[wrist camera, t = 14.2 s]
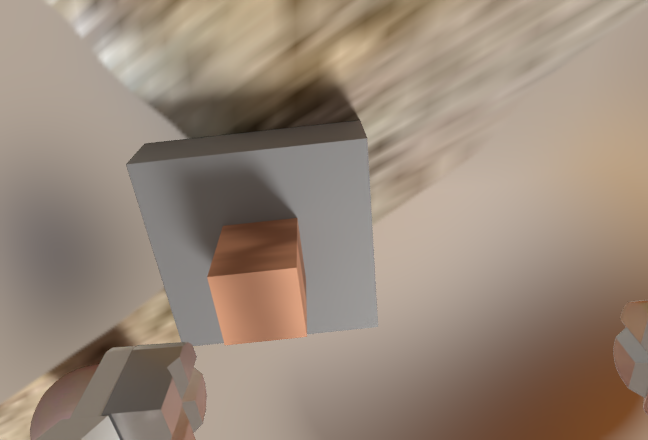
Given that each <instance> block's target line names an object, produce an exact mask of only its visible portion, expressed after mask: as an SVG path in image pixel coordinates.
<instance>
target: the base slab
mask: <svg viewBox="0 0 648 440" xmlns="http://www.w3.org/2000/svg"><path fill="white" fill-rule="evenodd" d="M126 166H127V169H128V172H129V176H130V179H131V182H132V185H133V188H134V192H135V195H136V198H137V201H138V204H139V208H140V211H141V214H142V217H143V220H144V224H145V227H146V230H147V233H148V236H149V239H150V243H151V246H152V249H153V252H154V255H155V259H156V262H157V265H158V268H159V271H160V274H161V278H162V281H163V284H164V287H165V291H166V294H167V297H168V300H169V303H170V307H171V310H172V313H173V316H174V319H175V323H176V326H177V329H178V332H179V335H180V339H181V342H189V343H191V344H192V345H193V346H200V345H210V344H219V343H224V340H223V337H222V333H221V329H220V325H219V321H218V317H217V313H216V310H215V306H214V302H213V298H212V294H211V290H210V286H209V282H208V279H207V276H208V273H209V270H210V266H211V263H212V260H213V256H214V253H215V250H216V247H217V243H218V240H219V237H220V234H221V230H222V227H223V226H226V225H236V224H245V223H254V222H263V221H273V220H282V219H291V218H297V219H298V226H299V233H300V240H301V247H302V254H303V261H304V268H305V275H306V305H307V334H314V333H323V332H332V331H342V330H351V329H361V328H371V327H378V319H377V318H378V317H377V299H376V282H375V265H374V249H373V232H372V231H373V230H372V213H371V196H370V179H369V161H368V144H367V137H366V134H365V132H364V129H363V126H362V124H361V121H360V120H357V121H348V122H339V123H330V124H320V125H311V126H302V127H293V128H284V129H275V130H265V131H256V132H247V133H238V134H229V135H219V136H210V137H201V138H192V139H183V140H174V141H164V142H156V143H147V144H144V145H143V146H142V147H141V149H140V150H139V151H138V152H137V153H136V154H135V155H134V156H133V157H132V159H130V161H129V162H128V163H127V164H126Z"/></svg>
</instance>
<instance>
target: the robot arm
mask: <svg viewBox="0 0 648 440" xmlns="http://www.w3.org/2000/svg"><path fill="white" fill-rule="evenodd" d="M620 319H621V321H622V322H623V323H624V325H625V326H626V328H625V329H624V330H623V331H622V332H621V333H620V334H619V335H618V336H617V337H616V338H615V343H614V349H613V353H614V360H615V366H616V368H617V370H618V373H619V375H620V377H621V378H622V380H623V381H624V383H625V384H626V386H627V387H628V388H629V389H630V390H632V391H634V392H636V393H637V394H639V395H641V396H642V397H644V406H643V409H644V411H645V412H646V414H647V415H648V300H644V301H634V302H628V303H627V304H626V306H625V307H624V308H623V311H622V315H621V318H620ZM196 357H197V356H196V353H195V351H194V348H193V345H192V344H191V343H189V342H180V343H165V344H150V345H138V346H128V347H112V348H111V349H110V350H108V351H107V352H106V353H105V354H104V356H103V358H102V360H101V362H100V364H99V366H98V367H97V369H96V371H95V373H94V375H93V377H92V378H91V380H90V382H89V384H88V386H87V388H86V389H85V391H84V393H83V395H82V397H81V399H80V400H79V402H78V404H77V406H76V408H75V410H74V411H73V413H72V415H71V417H70V419H61V420H60V421H59V422H57V423H56V424H55V425H54V426H52V427H51V428H50V429H49V430H47V431H46V432H45V433H43V434H42V435H41V436H40V437H38V438H37V439H36V440H196V439H195V436H194V432H195V431H196V430H197V429H198V428H199V427H200V426H201V425H202V424H203V421H204V416H205V412H206V399H207V393H206V386H205V381H204V378H203V374H202V373H201V372H199V371H198V370H197V369H195V368H194V365H195V361H196Z"/></svg>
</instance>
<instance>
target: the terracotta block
mask: <svg viewBox="0 0 648 440" xmlns="http://www.w3.org/2000/svg"><path fill="white" fill-rule="evenodd" d="M207 279H208V282H209V286H210V290H211V294H212V298H213V302H214V306H215V310H216V313H217V317H218V321H219V325H220V329H221V333H222V337H223V340H224V344H225V345H232V344H242V343H252V342H261V341H271V340H280V339H289V338H299V337H307V305H306V275H305V268H304V261H303V254H302V247H301V240H300V233H299V226H298V219H297V218H291V219H282V220H273V221H263V222H254V223H245V224H236V225H226V226H223V227H222V230H221V234H220V237H219V240H218V243H217V247H216V250H215V253H214V256H213V260H212V263H211V266H210V270H209V273H208V276H207Z"/></svg>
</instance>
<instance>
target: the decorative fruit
mask: <svg viewBox="0 0 648 440" xmlns="http://www.w3.org/2000/svg"><path fill="white" fill-rule="evenodd" d="M98 366H99V364H98V365H91V366H86V367H82V368H79V369H76V370H74V371H72V372H70V373H68V374H66V375H65V376H63V377H62V378H60V379H59V380H58V381H56V382H55V383H54V384H53V385H52V386H51V387H50V388H49V389H48V390H47V391H46V392H45V394H44V395H43V396H42V398H41V400H40V401H39V403H38V405H37V407H36V410H35V412H34V414H33V418H32V421H31V427H30V437H31V440H36V439H37V438H38V437H40V436H41V435H42V434H43V433H45V432H46V431H47V430H49V429H50V428H51V427H52V426H54V425H55V424H56V423H57V422H59V421H60V420H61V419H70V417H71V415H72V413H73V411H74V410H75V408H76V406H77V404H78V402H79V400H80V399H81V397H82V395H83V393H84V391H85V389H86V388H87V386H88V384H89V382H90V380H91V378H92V377H93V375H94V373H95V371H96V369H97V367H98Z"/></svg>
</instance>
